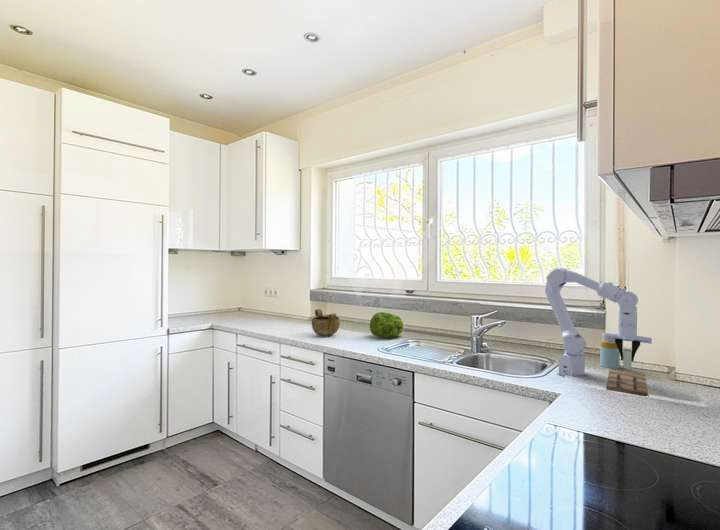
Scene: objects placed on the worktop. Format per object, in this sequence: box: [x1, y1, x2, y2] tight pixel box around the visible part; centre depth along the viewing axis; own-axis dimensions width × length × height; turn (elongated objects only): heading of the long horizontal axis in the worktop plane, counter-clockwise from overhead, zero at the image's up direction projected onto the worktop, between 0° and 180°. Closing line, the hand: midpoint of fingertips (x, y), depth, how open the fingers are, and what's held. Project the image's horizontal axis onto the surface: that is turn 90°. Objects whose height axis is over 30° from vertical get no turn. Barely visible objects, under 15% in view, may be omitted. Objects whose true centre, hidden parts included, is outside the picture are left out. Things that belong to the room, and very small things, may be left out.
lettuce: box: [369, 311, 405, 339], centre depth 230 cm, size 16×21×15 cm
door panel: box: [622, 346, 632, 370], centre depth 144 cm, size 10×2×6 cm, turn 146°
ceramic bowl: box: [311, 308, 341, 338], centre depth 234 cm, size 22×17×15 cm
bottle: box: [599, 332, 621, 370], centre depth 165 cm, size 7×7×15 cm
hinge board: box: [605, 369, 649, 397], centre depth 146 cm, size 26×12×3 cm, turn 145°
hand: (627, 360), depth 144 cm, fingers closed on door panel, 2 cm apart
